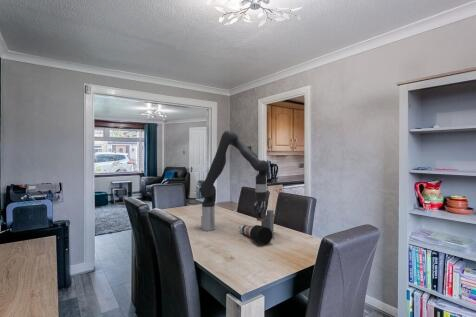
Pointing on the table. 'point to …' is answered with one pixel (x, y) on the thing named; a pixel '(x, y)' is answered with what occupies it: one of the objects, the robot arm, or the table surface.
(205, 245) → the table surface
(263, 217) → the hold down bar
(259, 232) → the telephoto camera lens
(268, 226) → the clamp post
